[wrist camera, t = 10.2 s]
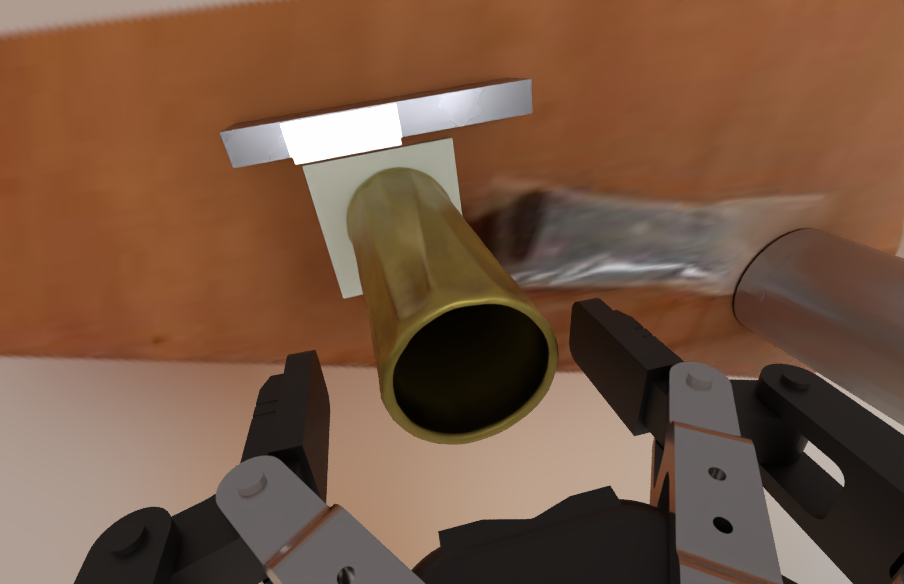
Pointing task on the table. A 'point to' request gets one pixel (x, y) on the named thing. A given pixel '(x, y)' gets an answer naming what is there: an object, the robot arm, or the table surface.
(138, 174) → the table surface
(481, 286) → the vase
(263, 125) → the price rail
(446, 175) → the pad
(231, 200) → the table surface
